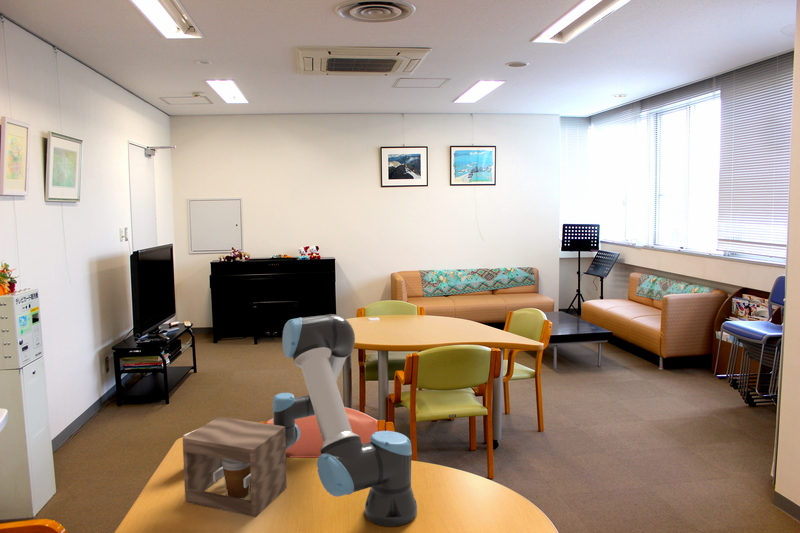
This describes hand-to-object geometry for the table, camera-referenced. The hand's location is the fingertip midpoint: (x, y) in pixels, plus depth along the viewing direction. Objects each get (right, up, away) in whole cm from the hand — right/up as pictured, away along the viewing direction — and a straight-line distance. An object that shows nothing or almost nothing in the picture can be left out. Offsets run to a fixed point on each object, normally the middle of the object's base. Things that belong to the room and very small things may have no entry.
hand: (229, 480), depth 164 cm
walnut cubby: (+1, -6, +5) cm, 8 cm away
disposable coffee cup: (+1, -6, +5) cm, 8 cm away
